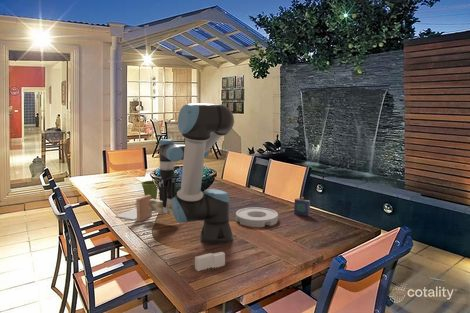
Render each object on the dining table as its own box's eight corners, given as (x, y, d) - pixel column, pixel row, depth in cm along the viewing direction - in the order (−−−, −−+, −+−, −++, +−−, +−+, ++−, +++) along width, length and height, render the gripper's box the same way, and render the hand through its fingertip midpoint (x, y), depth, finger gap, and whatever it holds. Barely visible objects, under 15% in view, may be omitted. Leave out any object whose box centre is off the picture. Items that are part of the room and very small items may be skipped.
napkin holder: (189, 274, 132) (189, 259, 132) (195, 261, 144) (195, 247, 143) (229, 276, 131) (229, 262, 130) (232, 263, 142) (232, 249, 141)
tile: (151, 215, 199) (151, 195, 198) (140, 220, 190) (139, 199, 189) (148, 215, 200) (148, 194, 199) (136, 220, 191) (136, 198, 190)
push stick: (179, 214, 187) (179, 203, 186) (176, 215, 184) (176, 204, 183) (152, 209, 194) (152, 198, 193) (149, 210, 192) (149, 199, 191)
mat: (152, 212, 205) (152, 211, 205) (133, 220, 191) (133, 219, 191) (134, 209, 211) (134, 208, 211) (115, 216, 196) (115, 215, 196)
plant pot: (145, 196, 241) (145, 180, 239) (162, 197, 239) (161, 180, 238) (138, 200, 229) (138, 184, 228) (156, 201, 228) (155, 184, 226)
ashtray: (272, 230, 179) (272, 222, 179) (229, 224, 187) (229, 217, 186) (281, 216, 201) (281, 209, 201) (243, 212, 209) (243, 205, 208)
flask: (310, 215, 203) (310, 197, 201) (308, 216, 200) (309, 198, 198) (294, 213, 207) (295, 195, 205) (293, 214, 204) (293, 196, 203)
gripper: (170, 165, 193) (170, 207, 197) (151, 170, 179) (152, 215, 183) (181, 166, 190) (182, 208, 194) (163, 172, 176) (164, 217, 179)
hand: (167, 211), depth 188 cm, fingers closed on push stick, 3 cm apart
